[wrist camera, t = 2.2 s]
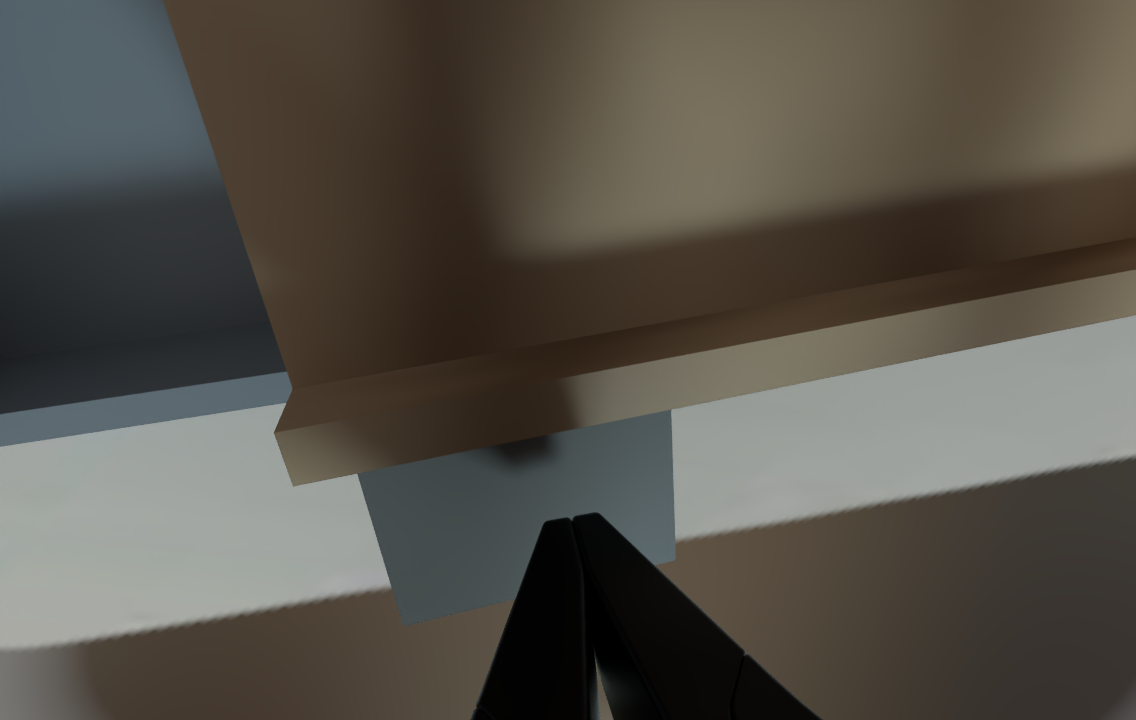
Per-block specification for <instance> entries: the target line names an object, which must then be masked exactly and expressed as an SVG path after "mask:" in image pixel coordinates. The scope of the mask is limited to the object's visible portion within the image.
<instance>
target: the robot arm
mask: <svg viewBox="0 0 1136 720" xmlns="http://www.w3.org/2000/svg"><path fill="white" fill-rule="evenodd" d="M595 659H596V663H597V668H598V671H599V675H600V678H601V682H602V685H603V688H604V691H605V694H606V697H607V700H608V704H609V707H610V710H611V713H612V716H613V719H614V720H823V719H822V718H820V717H819V716H818V715H817V714H815V713H814V712H813V711H812V710H811V709H809V708H808V707H807V706H805V705H804V704H803V703H802V702H801V701H800V700H798V699H797V698H796V697H795V696H794V695H793V694H792V693H791V692H790V691H788V690H787V689H786V688H785V687H784V686H783V685H782V684H780V683H779V682H778V681H777V680H776V679H775V678H774V677H773V676H772V675H770V674H769V673H768V672H767V671H766V670H765V669H764V668H763V667H762V666H761V665H760V664H759V663H758V662H757V661H756V660H755V659H754V658H753V657H752V656H750V655H749V654H746V655H745V650H744V649H743V648H742V647H740V645H738V644H737V643H736V642H735V641H734V640H733V639H732V638H731V637H730V636H729V635H728V634H727V633H726V632H725V631H724V630H723V629H722V628H721V627H719V626H718V625H717V624H716V623H715V622H714V621H713V620H712V619H711V618H710V617H709V616H708V615H707V614H706V613H704V611H703V610H701V609H700V608H699V607H698V606H697V605H696V604H695V603H694V602H693V601H692V600H691V599H690V598H689V597H688V596H687V595H686V594H685V593H683V592H682V591H681V590H680V589H679V588H678V587H677V586H676V585H675V584H674V583H673V582H672V581H671V580H670V579H669V578H668V577H666V576H665V575H664V574H663V573H662V572H661V571H660V570H659V569H658V568H657V567H656V566H655V565H654V564H653V563H652V562H651V561H650V560H649V559H648V558H646V557H645V556H644V555H643V554H642V553H641V552H640V551H639V550H638V549H637V548H636V547H635V546H634V545H633V544H632V543H631V542H630V541H628V540H627V539H626V538H625V537H624V536H623V535H622V534H621V533H620V532H619V531H618V530H617V529H616V528H615V527H614V526H613V525H612V524H610V523H609V522H608V521H607V520H606V519H605V518H604V517H603V516H602V515H601V514H600V513H597V512H593V513H587V514H581V515H576V516H574V517H573V519H572V520H571V519H570V518H568V517H564V518H559V519H553V520H548V521H545V522H544V524H543V526H542V528H541V531H540V533H539V536H538V539H537V542H536V544H535V547H534V550H533V552H532V555H531V558H530V560H529V563H528V566H527V569H526V571H525V574H524V577H523V579H522V582H521V585H520V588H519V590H518V593H517V596H516V598H515V601H514V604H513V606H512V609H511V612H510V615H509V617H508V620H507V623H506V625H505V628H504V631H503V634H502V636H501V639H500V642H499V644H498V647H497V650H496V652H495V655H494V658H493V660H492V663H491V666H490V669H489V671H488V674H487V677H486V679H485V683H484V685H483V688H482V690H481V693H480V696H479V698H478V701H477V704H476V707H477V709H475V710H474V711H473V714H472V717H471V719H470V720H600V710H599V696H598V682H597V672H596V663H595Z"/></svg>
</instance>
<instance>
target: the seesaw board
mask: <svg viewBox="0 0 1136 720" xmlns="http://www.w3.org/2000/svg"><path fill="white" fill-rule="evenodd" d="M163 2H164V5H165V8H166V11H167V14H168V17H169V20H170V23H171V26H172V29H173V32H174V35H175V38H176V41H177V44H178V47H179V50H180V53H181V56H182V59H183V62H184V65H185V68H186V71H187V74H188V77H189V80H190V83H191V86H192V89H193V92H194V95H195V98H196V101H197V104H198V107H199V110H200V113H201V116H202V119H203V122H204V125H205V128H206V131H207V134H208V137H209V140H210V143H211V146H212V149H213V152H214V155H215V158H216V161H217V164H218V167H219V170H220V173H221V176H222V179H223V182H224V185H225V188H226V191H227V194H228V197H229V200H230V203H231V206H232V209H233V212H234V215H235V218H236V221H237V224H238V227H239V230H240V233H241V236H242V239H243V242H244V245H245V248H246V251H247V254H248V257H249V260H250V263H251V266H252V269H253V272H254V275H255V278H256V281H257V284H258V287H259V290H260V293H261V296H262V299H263V302H264V305H265V308H266V311H267V314H268V317H269V320H270V323H271V326H272V329H273V332H274V335H275V338H276V341H277V344H278V347H279V350H280V353H281V356H282V359H283V362H284V365H285V368H286V371H287V374H288V377H289V380H290V383H291V386H292V392H291V394H290V396H289V399H288V401H287V403H286V406H285V408H284V410H283V413H282V415H281V417H280V420H279V422H278V424H277V427H276V429H275V431H274V435H275V437H276V440H277V443H278V446H279V448H280V451H281V454H282V457H283V459H284V462H285V465H286V468H287V471H288V473H289V476H290V479H291V482H292V484H293V486H297V485H302V484H307V483H312V482H317V481H322V480H327V479H332V478H337V477H342V476H347V475H352V474H358V477H359V481H360V484H361V487H362V490H363V494H364V497H365V500H366V504H367V507H368V510H369V514H370V517H371V520H372V524H373V527H374V530H375V534H376V537H377V540H378V543H379V547H380V550H381V553H382V557H383V560H384V563H385V567H386V570H387V573H388V577H389V580H390V583H391V586H392V590H393V593H394V596H395V600H396V603H397V606H398V610H399V613H400V616H401V620H402V623H403V626H407V625H411V624H415V623H419V622H423V621H427V620H431V619H436V618H440V617H444V616H448V615H452V614H456V613H460V612H465V611H469V610H473V609H477V608H481V607H485V606H489V605H493V604H497V603H501V602H505V601H510V600H514V599H515V598H516V596H517V593H518V590H519V588H520V585H521V582H522V579H523V577H524V574H525V571H526V569H527V566H528V563H529V560H530V558H531V555H532V552H533V550H534V547H535V544H536V542H537V539H538V536H539V533H540V531H541V528H542V526H543V524H544V522H545V521H548V520H553V519H559V518H564V517H568V518H570V519H571V520H572V519H573V517H574V516H576V515H581V514H587V513H593V512H597V513H600V514H601V515H602V516H603V517H604V518H605V519H606V520H607V521H608V522H609V523H610V524H612V525H613V526H614V527H615V528H616V529H617V530H618V531H619V532H620V533H621V534H622V535H623V536H624V537H625V538H626V539H627V540H628V541H630V542H631V543H632V544H633V545H634V546H635V547H636V548H637V549H638V550H639V551H640V552H641V553H642V554H643V555H644V556H645V557H646V558H648V559H649V560H650V561H651V562H652V563H653V564H654V565H658V564H662V563H666V562H669V561H674V560H676V556H675V522H674V490H673V458H672V426H671V409H676V408H681V407H686V406H691V405H696V404H701V403H706V402H711V401H716V400H721V399H726V398H730V397H735V396H740V395H745V394H750V393H755V392H760V391H765V390H770V389H775V388H780V387H785V386H790V385H794V384H799V383H804V382H809V381H814V380H819V379H824V378H829V377H834V376H839V375H844V374H849V373H853V372H858V371H863V370H868V369H873V368H878V367H883V366H888V365H893V364H898V363H903V362H908V361H913V360H917V359H922V358H927V357H932V356H937V355H942V354H947V353H952V352H957V351H962V350H967V349H972V348H977V347H981V346H986V345H991V344H996V343H1001V342H1006V341H1011V340H1016V339H1021V338H1026V337H1031V336H1036V335H1040V334H1045V333H1050V332H1055V331H1060V330H1065V329H1070V328H1075V327H1080V326H1085V325H1090V324H1095V323H1100V322H1104V321H1109V320H1114V319H1119V318H1124V317H1129V316H1134V315H1136V0H163Z"/></svg>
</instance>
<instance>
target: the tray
mask: <svg viewBox="0 0 1136 720" xmlns="http://www.w3.org/2000/svg"><path fill="white" fill-rule="evenodd" d="M291 392H292V386H291V383H290V380H289V377H288V374H287V371H286V368H285V365H284V362H283V359H282V356H281V353H280V350H279V347H278V344H277V341H276V338H275V335H274V332H273V329H272V326H271V323H270V320H269V317H268V314H267V311H266V308H265V305H264V302H263V299H262V296H261V293H260V290H259V287H258V284H257V281H256V278H255V275H254V272H253V269H252V266H251V263H250V260H249V257H248V254H247V251H246V248H245V245H244V242H243V239H242V236H241V233H240V230H239V227H238V224H237V221H236V218H235V215H234V212H233V209H232V206H231V203H230V200H229V197H228V194H227V191H226V188H225V185H224V182H223V179H222V176H221V173H220V170H219V167H218V164H217V161H216V158H215V155H214V152H213V149H212V146H211V143H210V140H209V137H208V134H207V131H206V128H205V125H204V122H203V119H202V116H201V113H200V110H199V107H198V104H197V101H196V98H195V95H194V92H193V89H192V86H191V83H190V80H189V77H188V74H187V71H186V68H185V65H184V62H183V59H182V56H181V53H180V50H179V47H178V44H177V41H176V38H175V35H174V32H173V29H172V26H171V23H170V20H169V17H168V14H167V11H166V8H165V5H164V2H163V0H0V447H1V446H8V445H14V444H21V443H27V442H34V441H40V440H47V439H53V438H60V437H66V436H73V435H79V434H86V433H92V432H99V431H105V430H112V429H118V428H125V427H131V426H138V425H144V424H151V423H157V422H164V421H170V420H177V419H183V418H190V417H196V416H203V415H209V414H216V413H222V412H229V411H235V410H242V409H248V408H255V407H261V406H268V405H274V404H281V403H287V401H288V399H289V396H290V394H291Z"/></svg>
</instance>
